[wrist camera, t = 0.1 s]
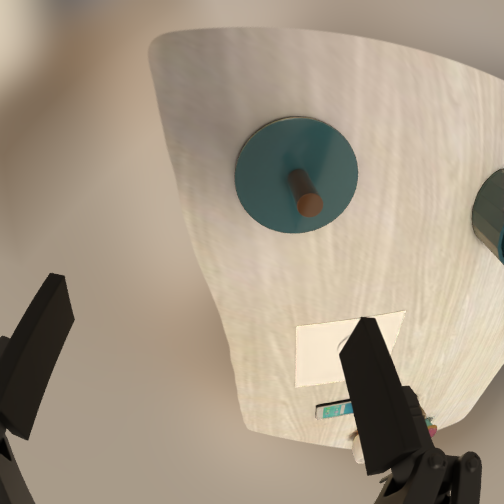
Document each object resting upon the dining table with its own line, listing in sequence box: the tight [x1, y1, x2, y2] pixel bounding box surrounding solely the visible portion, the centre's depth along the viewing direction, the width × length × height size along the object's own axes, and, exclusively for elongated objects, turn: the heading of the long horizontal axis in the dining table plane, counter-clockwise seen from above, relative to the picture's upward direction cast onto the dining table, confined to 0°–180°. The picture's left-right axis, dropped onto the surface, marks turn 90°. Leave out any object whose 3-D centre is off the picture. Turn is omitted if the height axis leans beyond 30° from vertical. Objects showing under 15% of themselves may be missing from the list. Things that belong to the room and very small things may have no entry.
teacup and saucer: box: [337, 339, 347, 355], centre depth 54 cm, size 9×8×4 cm
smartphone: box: [316, 400, 353, 420], centre depth 69 cm, size 7×1×15 cm
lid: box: [235, 117, 358, 233], centre depth 33 cm, size 15×15×8 cm
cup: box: [352, 434, 365, 464], centre depth 78 cm, size 12×12×10 cm
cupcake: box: [425, 419, 437, 437], centre depth 79 cm, size 9×8×12 cm
